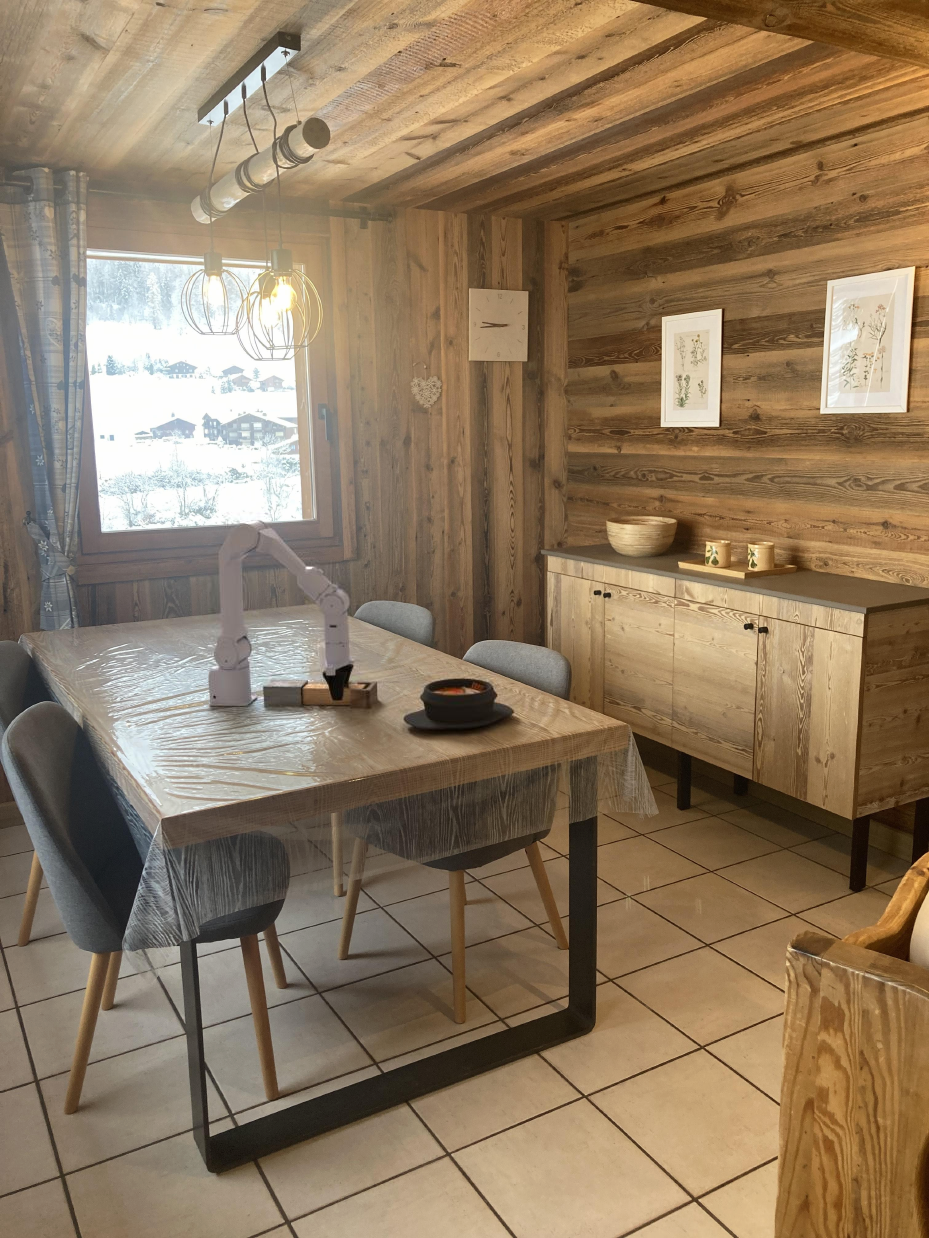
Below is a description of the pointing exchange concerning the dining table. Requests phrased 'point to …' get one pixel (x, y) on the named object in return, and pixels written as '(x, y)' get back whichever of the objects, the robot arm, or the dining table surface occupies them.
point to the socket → (364, 695)
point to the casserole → (458, 705)
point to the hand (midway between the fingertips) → (339, 697)
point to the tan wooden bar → (326, 694)
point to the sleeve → (283, 693)
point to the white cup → (322, 660)
